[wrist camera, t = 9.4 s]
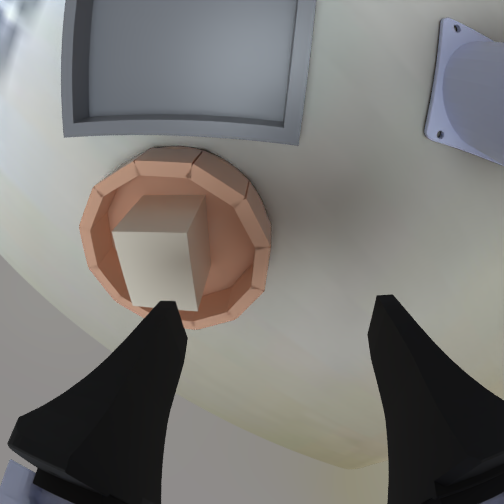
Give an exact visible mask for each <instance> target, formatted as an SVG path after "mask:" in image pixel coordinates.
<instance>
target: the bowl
mask: <svg viewBox="0 0 504 504" xmlns="http://www.w3.org/2000/svg"><path fill="white" fill-rule="evenodd" d="M143 195H206V208H207V221H208V234H209V245H210V257H211V267H210V270H209V274H208V277H207V281H206V284H205V288H204V291H203V295H202V298H201V302H200V305H199V309H198V311H185V310H178V311H179V314H180V317H181V320H182V323H183V326H184V328H186V329H193V330H195V328H196V330H198V329H201V328H205V327H209V326H213V325H217V324H221V323H225V322H228V321H232V320H235V319H237V318H238V317H239V316H240V315H241V314H242V313H243V312H244V311H245V310H246V309H247V308H248V307H249V306H250V305H251V304H252V303H253V302H254V301H255V300H256V299H257V298H258V297H259V296H260V295H261V294H262V293H263V292H264V290H265V284H266V277H267V270H268V263H269V256H270V249H271V223H270V221H269V219H268V217H267V213H266V209H265V207H264V204H263V202H262V199H261V198H260V196H259V194H258V192H257V191H256V189H255V188H254V186H253V185H252V184H251V182H250V181H249V179H247V178H246V177H245V176H244V175H243V174H242V173H241V172H240V171H239V170H238V169H237V168H236V167H234V166H233V165H232V164H230V163H229V162H227V161H226V160H224V159H222V158H220V157H219V156H217V155H214V154H212V153H209V152H207V151H204V150H200V149H196V148H192V147H184V146H166V147H161V148H150V149H148V150H147V151H145V152H143V153H141V154H140V155H138V156H136V157H134V158H133V159H131V160H130V161H128V162H127V163H125V164H123V165H122V166H120V167H119V168H117V169H116V170H114V171H113V172H111V173H110V174H109V175H107V176H106V177H105V178H104V179H102V180H101V181H100V182H99V183H97V184H96V185H95V186H94V187H93V189H92V191H91V194H90V197H89V199H88V202H87V205H86V208H85V210H84V213H83V216H82V219H81V222H80V225H79V226H80V227H79V229H80V234H81V239H82V243H83V248H84V252H85V256H86V260H87V264H88V267H89V269H90V270H91V272H92V273H93V274H94V276H95V277H96V278H97V279H98V281H99V282H100V283H101V285H102V286H103V287H104V288H105V290H106V291H107V292H108V293H109V294H110V296H111V297H112V298H113V299H114V300H115V301H116V300H117V301H116V302H117V303H119V304H120V305H122V306H124V307H126V308H127V309H129V310H131V311H132V312H134V313H136V314H138V315H139V316H141V317H143V318H145V317H146V316H147V315H148V314H149V312H150V311H151V310H152V309H153V308H150V307H140V306H133V305H132V302H131V299H130V295H129V292H128V289H127V286H126V282H125V279H124V276H123V272H122V269H121V265H120V261H119V258H118V254H117V250H116V246H115V243H114V239H113V235H112V231H113V230H114V228H115V227H116V226H117V225H118V224H119V222H120V221H121V220H122V219H123V218H124V216H125V215H126V214H127V213H128V212H129V211H130V210H131V208H132V207H133V206H134V205H135V204H136V203H137V202H138V201H139V199H140V198H141V197H142V196H143Z"/></svg>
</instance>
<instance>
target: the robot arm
mask: <svg viewBox="0 0 504 504" xmlns="http://www.w3.org/2000/svg"><path fill="white" fill-rule="evenodd" d="M454 25H455V26H456V27H457V30H458V31H457V32H456V31H455V30H454ZM438 131H441V136H440V137H437V133H438ZM424 133H425V136H426V137H427V138H428V139H430V140H432V141H435V142H439V143H442V144H445V145H448V146H451V147H454V148H457V149H460V150H463V151H466V152H468V153H471V154H474V155H477V156H479V157H482V158H484V159H487V160H490V161H492V162H495V163H497V164H499V165H502V166H504V42H494V41H493V40H491V39H489V38H488V37H486V36H484V35H482V34H480V33H479V32H477V31H475V30H473V29H471V28H469V27H467V26H465V25H463V24H461V23H459V22H457V21H455V20H453V19H451V18H443V19H442V20H441V24H440V35H439V45H438V54H437V62H436V69H435V76H434V82H433V88H432V94H431V100H430V105H429V110H428V115H427V120H426V125H425V130H424ZM187 339H188V338H187V335H186V332H185V329H184V326H183V323H182V320H181V317H180V314H179V311H178V308H177V304H176V301H159V303H158V304H157V305H156V306H155V307H154V308H153V309H152V310H151V311H150V312H149V314H148V315H147V316H146V317H145V318H144V319H143V320H142V321H141V323H140V324H139V325H138V326H137V327H136V328H135V329H134V330H133V332H132V333H131V334H130V335H129V336H128V337H127V338H126V339H125V340H124V341H123V342H122V343H121V344H120V345H119V346H118V348H117V349H116V350H115V351H114V352H113V353H112V354H111V355H110V356H109V357H108V358H107V359H106V360H104V361H103V362H102V363H101V364H100V365H99V366H98V367H97V368H96V369H94V370H93V371H92V372H91V373H90V374H89V375H87V376H86V377H85V378H84V379H82V380H81V381H80V382H78V383H77V384H75V385H74V386H73V387H71V388H70V389H69V390H67V391H66V392H64V393H63V394H61V395H60V396H58V397H57V398H55V399H53V400H52V401H50V402H48V403H47V404H45V405H43V406H41V407H39V408H38V409H35V410H33V411H31V412H29V413H27V414H25V415H23V416H20V417H19V418H18V420H17V423H16V425H15V427H14V430H13V432H12V434H11V436H10V439H9V441H8V446H9V448H10V449H12V450H13V451H14V452H15V453H17V454H18V455H19V456H21V457H22V458H24V459H25V460H27V461H28V462H30V463H31V464H33V465H34V466H36V467H37V468H38V469H37V472H36V473H35V472H33V471H31V470H30V469H28V468H26V467H24V466H22V465H20V464H18V463H17V462H15V461H13V460H12V459H11V460H9V463H8V466H7V469H6V471H5V474H4V477H3V480H2V483H1V486H0V504H161V478H162V463H163V453H164V444H165V436H166V430H167V423H168V418H169V413H170V409H171V406H172V402H173V399H174V395H175V392H176V388H177V385H178V382H179V378H180V374H181V371H182V367H183V364H184V359H185V353H186V346H187ZM368 341H369V348H370V355H371V360H372V364H373V368H374V372H375V376H376V380H377V384H378V388H379V392H380V396H381V400H382V404H383V408H384V414H385V420H386V429H387V440H388V459H389V486H388V503H387V504H504V400H502V399H501V398H499V397H498V396H496V395H494V394H493V393H492V392H490V391H489V390H487V389H486V388H485V387H483V386H482V385H481V384H479V383H478V382H477V381H475V380H474V379H473V378H472V377H470V376H469V375H468V374H467V373H466V372H464V371H463V370H462V369H461V368H460V367H459V366H458V365H457V364H455V363H454V362H453V361H452V360H451V359H450V358H449V357H448V356H447V355H446V354H445V353H444V352H443V351H442V350H441V349H440V348H439V347H438V346H437V345H436V344H435V343H434V342H433V340H432V339H431V338H430V337H429V336H428V335H427V334H426V333H425V332H424V330H423V329H422V328H421V327H420V326H419V325H418V324H417V322H416V321H415V320H414V319H413V318H412V317H411V315H410V314H409V313H408V312H407V311H406V310H405V308H404V307H403V306H402V305H401V304H400V302H399V301H398V300H397V299H396V298H395V297H394V296H393V295H378V296H377V297H376V302H375V306H374V310H373V315H372V319H371V323H370V327H369V331H368Z"/></svg>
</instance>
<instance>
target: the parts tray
mask: <svg viewBox="0 0 504 504" xmlns="http://www.w3.org/2000/svg"><path fill="white" fill-rule="evenodd" d="M315 7H316V0H66V3H65V11H64V21H63V34H62V54H61V99H62V119H63V133H64V137H80V136H101V135H179V136H201V137H217V138H231V139H243V140H253V141H263V142H272V143H281V144H289V145H296V146H298V145H299V138H300V131H301V124H302V116H303V109H304V101H305V93H306V86H307V78H308V70H309V61H310V53H311V44H312V35H313V26H314V17H315Z"/></svg>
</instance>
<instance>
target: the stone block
mask: <svg viewBox="0 0 504 504" xmlns="http://www.w3.org/2000/svg"><path fill="white" fill-rule="evenodd" d="M112 235H113V239H114V243H115V246H116V250H117V254H118V258H119V261H120V265H121V269H122V272H123V276H124V279H125V282H126V286H127V289H128V292H129V295H130V299H131V302H132V305H133V306H140V307H150V308H154V307H155V306H156V305H157V304H158V303H159V301H176V304H177V308H178V310H185V311H198V309H199V305H200V302H201V298H202V295H203V291H204V288H205V284H206V281H207V277H208V274H209V270H210V267H211V257H210V245H209V234H208V221H207V208H206V195H143V196H142V197H141V198H140V199H139V201H138V202H137V203H136V204H135V205H134V206H133V207H132V208H131V210H130V211H129V212H128V213H127V214H126V215H125V216H124V218H123V219H122V220H121V221H120V222H119V224H118V225H117V226H116V227H115V228H114V230H113V231H112Z"/></svg>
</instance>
